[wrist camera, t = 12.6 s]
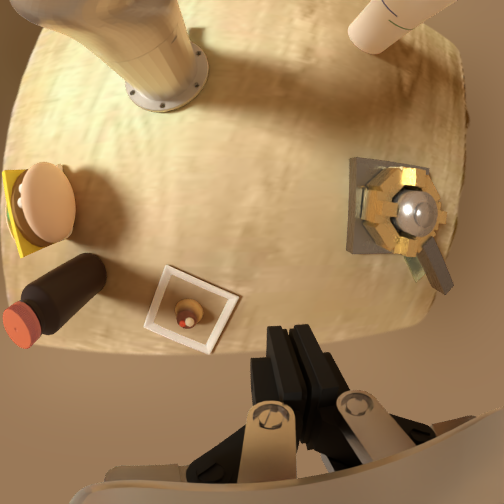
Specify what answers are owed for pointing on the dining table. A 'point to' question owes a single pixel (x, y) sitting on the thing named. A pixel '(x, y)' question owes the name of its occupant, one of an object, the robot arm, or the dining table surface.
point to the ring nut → (382, 208)
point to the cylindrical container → (390, 21)
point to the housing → (408, 217)
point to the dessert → (189, 311)
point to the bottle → (54, 299)
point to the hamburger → (38, 206)
